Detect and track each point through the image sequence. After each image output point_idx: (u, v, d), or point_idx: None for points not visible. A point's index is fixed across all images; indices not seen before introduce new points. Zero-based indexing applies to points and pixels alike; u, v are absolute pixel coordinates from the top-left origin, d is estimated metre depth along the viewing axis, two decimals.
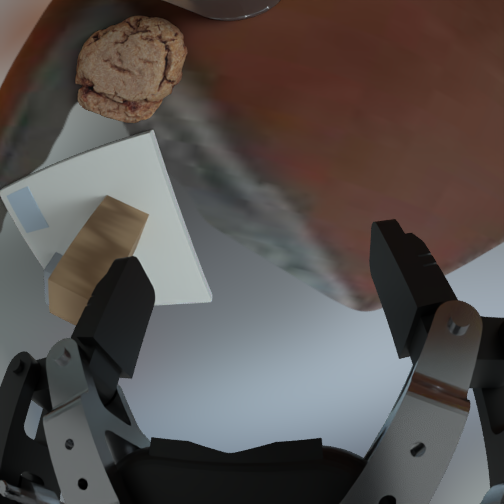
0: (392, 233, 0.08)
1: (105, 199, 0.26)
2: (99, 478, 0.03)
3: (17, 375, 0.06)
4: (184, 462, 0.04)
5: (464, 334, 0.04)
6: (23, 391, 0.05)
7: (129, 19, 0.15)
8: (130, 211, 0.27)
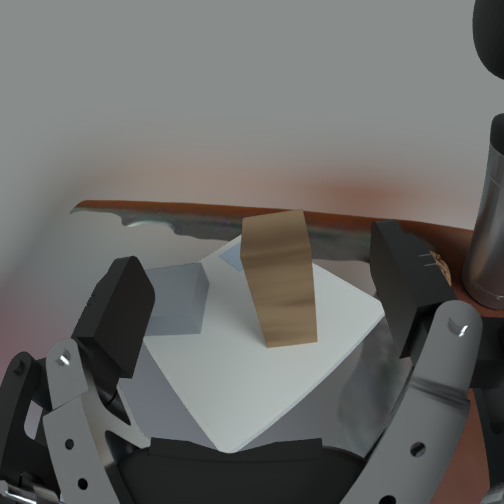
0: (392, 233, 0.08)
1: None
2: (99, 478, 0.03)
3: (17, 375, 0.06)
4: (184, 462, 0.04)
5: (464, 334, 0.04)
6: (23, 391, 0.05)
7: None
8: None
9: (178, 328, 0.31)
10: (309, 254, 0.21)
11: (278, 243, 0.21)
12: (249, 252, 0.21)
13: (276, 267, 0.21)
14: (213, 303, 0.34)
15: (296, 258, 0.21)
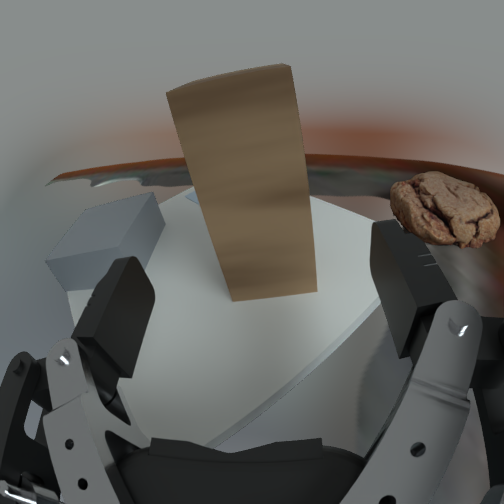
0: (392, 233, 0.08)
1: None
2: (98, 477, 0.03)
3: (17, 375, 0.06)
4: (184, 462, 0.04)
5: (464, 334, 0.04)
6: (23, 391, 0.05)
7: None
8: None
9: None
10: (290, 84, 0.10)
11: (234, 74, 0.10)
12: (183, 87, 0.10)
13: (230, 113, 0.11)
14: (165, 246, 0.24)
15: (266, 93, 0.10)
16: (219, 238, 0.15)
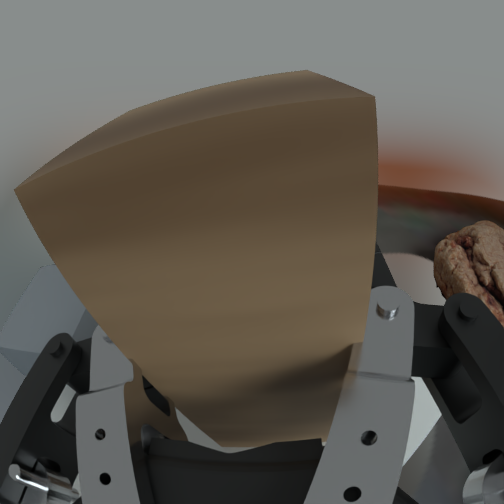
0: None
1: None
2: (125, 477, 0.03)
3: (54, 358, 0.06)
4: (184, 462, 0.04)
5: (390, 318, 0.05)
6: (57, 378, 0.06)
7: None
8: None
9: None
10: (367, 160, 0.03)
11: (185, 114, 0.03)
12: (51, 167, 0.03)
13: (175, 248, 0.04)
14: None
15: (286, 187, 0.03)
16: (192, 411, 0.08)
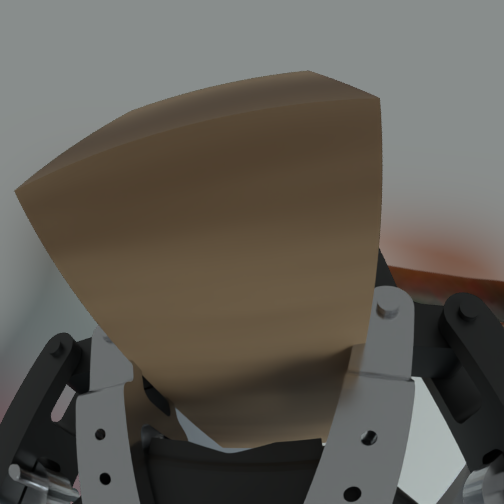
0: None
1: None
2: (124, 477, 0.03)
3: (54, 358, 0.06)
4: (184, 462, 0.04)
5: (390, 318, 0.05)
6: (57, 378, 0.06)
7: None
8: None
9: None
10: (371, 162, 0.03)
11: (187, 115, 0.03)
12: (53, 168, 0.03)
13: (178, 249, 0.04)
14: None
15: (290, 190, 0.03)
16: (193, 412, 0.08)
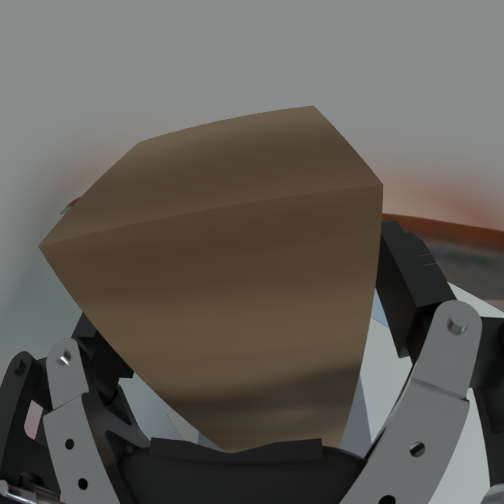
0: (392, 233, 0.08)
1: None
2: (98, 478, 0.03)
3: (17, 375, 0.06)
4: (184, 462, 0.04)
5: (463, 334, 0.05)
6: (24, 391, 0.05)
7: None
8: None
9: None
10: (370, 238, 0.04)
11: (204, 183, 0.04)
12: (75, 227, 0.04)
13: (198, 305, 0.04)
14: (371, 407, 0.14)
15: (298, 262, 0.04)
16: (203, 425, 0.08)
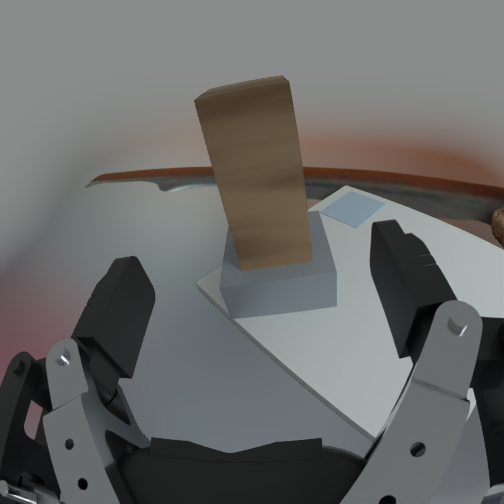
0: (392, 233, 0.08)
1: None
2: (99, 477, 0.03)
3: (17, 375, 0.06)
4: (184, 462, 0.04)
5: (464, 334, 0.04)
6: (23, 391, 0.05)
7: None
8: None
9: (306, 300, 0.21)
10: (288, 95, 0.13)
11: (246, 87, 0.14)
12: (207, 96, 0.14)
13: (243, 117, 0.14)
14: (339, 266, 0.24)
15: (271, 101, 0.14)
16: (233, 215, 0.18)
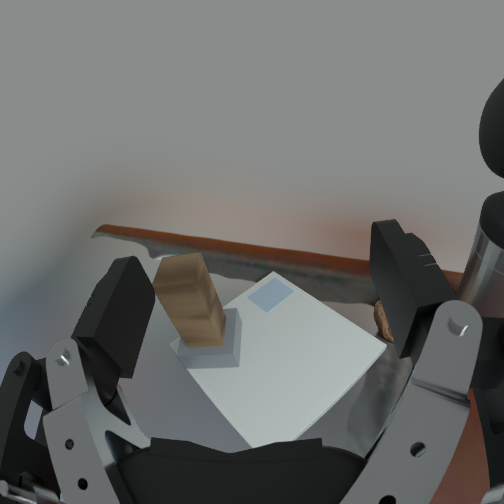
0: (392, 233, 0.08)
1: (224, 314, 0.41)
2: (99, 477, 0.03)
3: (17, 375, 0.06)
4: (184, 462, 0.04)
5: (464, 334, 0.04)
6: (23, 391, 0.05)
7: None
8: (222, 331, 0.39)
9: (221, 363, 0.38)
10: (194, 287, 0.31)
11: (175, 279, 0.31)
12: (157, 283, 0.31)
13: (175, 294, 0.32)
14: (247, 341, 0.42)
15: (186, 289, 0.31)
16: (178, 327, 0.35)
